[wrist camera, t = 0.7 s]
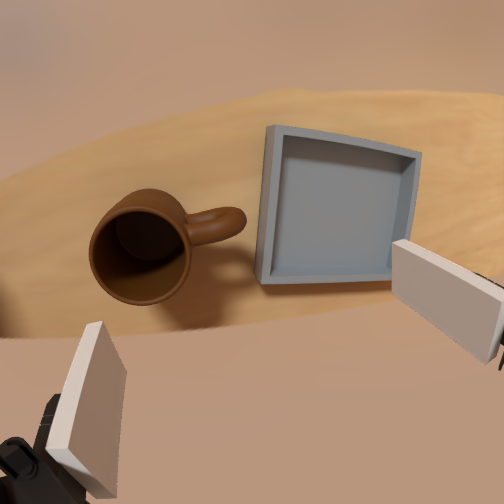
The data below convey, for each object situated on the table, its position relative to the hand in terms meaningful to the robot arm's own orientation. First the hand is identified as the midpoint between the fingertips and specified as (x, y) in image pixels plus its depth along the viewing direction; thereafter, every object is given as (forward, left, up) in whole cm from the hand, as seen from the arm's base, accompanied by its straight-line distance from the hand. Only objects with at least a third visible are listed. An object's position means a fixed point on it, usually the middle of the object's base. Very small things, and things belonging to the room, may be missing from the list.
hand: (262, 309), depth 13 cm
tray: (+13, +2, -19) cm, 23 cm away
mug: (-4, 0, -19) cm, 20 cm away
